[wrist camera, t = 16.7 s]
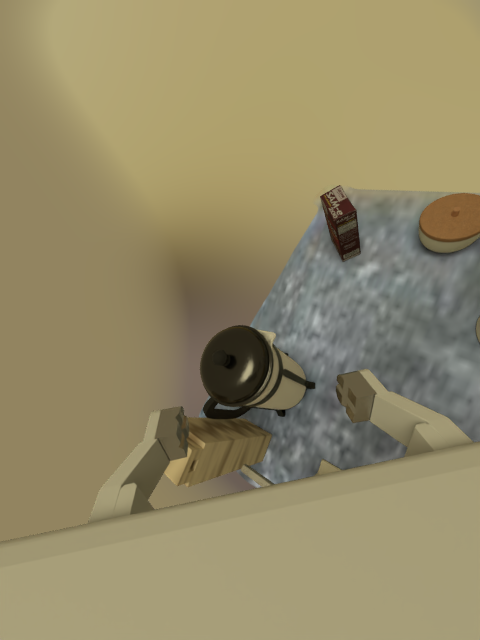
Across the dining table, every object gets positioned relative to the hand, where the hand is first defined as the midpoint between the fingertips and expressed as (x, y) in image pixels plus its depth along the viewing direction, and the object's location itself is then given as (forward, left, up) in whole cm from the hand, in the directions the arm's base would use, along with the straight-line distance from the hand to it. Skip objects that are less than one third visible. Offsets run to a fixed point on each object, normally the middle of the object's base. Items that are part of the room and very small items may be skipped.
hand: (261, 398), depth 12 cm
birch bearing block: (+17, +14, -45) cm, 50 cm away
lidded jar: (-8, -43, -45) cm, 63 cm away
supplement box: (+12, -40, -45) cm, 61 cm away
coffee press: (+15, 0, -45) cm, 47 cm away
